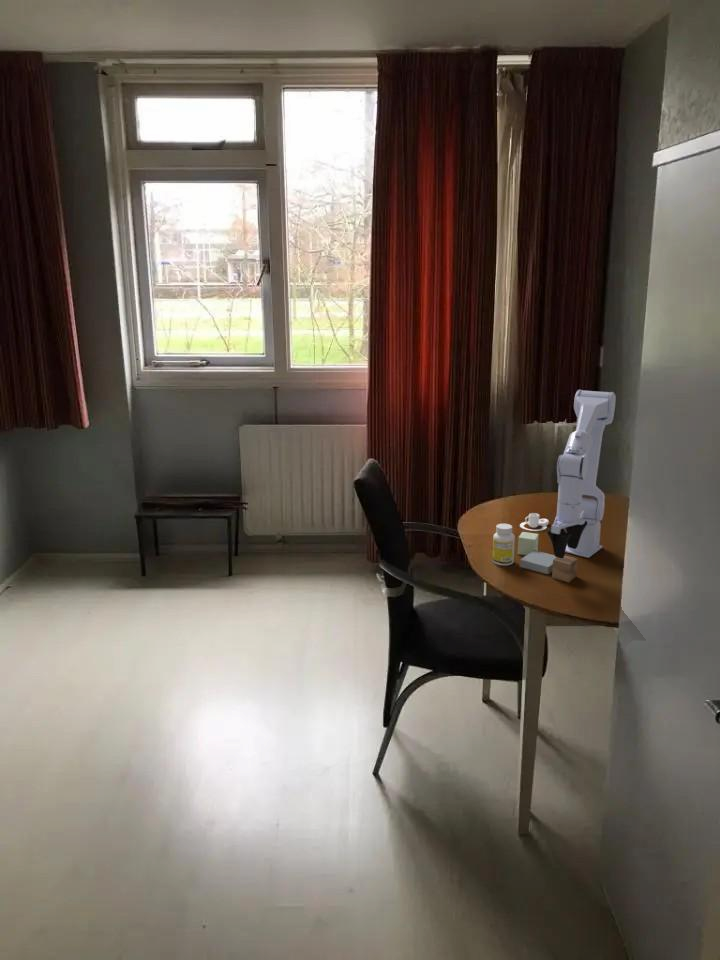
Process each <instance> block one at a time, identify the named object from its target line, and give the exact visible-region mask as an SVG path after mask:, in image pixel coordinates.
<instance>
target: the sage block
mask: <svg viewBox="0 0 720 960" xmlns="http://www.w3.org/2000/svg"><path fill="white" fill-rule="evenodd" d="M517 540H518V542H517V555H522V556H526V555H528V554H529V553H531V552H532V551H534V550H536V551H539V550H538V547H539V533H533V532H528V531H527V532H525V531H522V532H521V533H520V534H519V535H518V539H517Z"/></svg>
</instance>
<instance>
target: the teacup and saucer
mask: <svg viewBox="0 0 720 960" xmlns="http://www.w3.org/2000/svg"><path fill="white" fill-rule="evenodd" d="M524 519H525V521H523V522H521V523H520V524H519V527H520V528H521V529H523V530H525V531H532V532H541V531H545V530H546V529H547V528H548V525H549V523H550V521H549V519H548V518H540V514H539V513H536V512H531V513H529V514H528V516H526V517H525V518H524ZM527 519H528V521H527ZM525 525H528V526H529V527H530V528H538V527H541V528H539V529H530V528H527V527H525Z"/></svg>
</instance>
